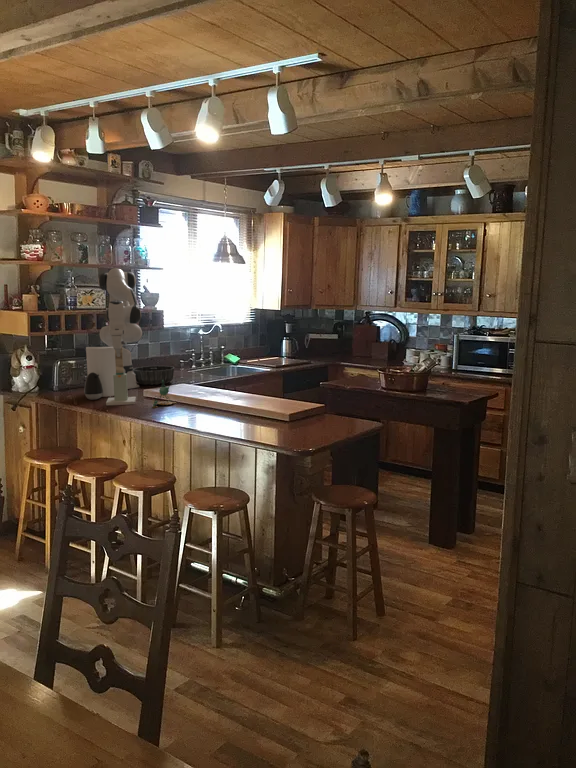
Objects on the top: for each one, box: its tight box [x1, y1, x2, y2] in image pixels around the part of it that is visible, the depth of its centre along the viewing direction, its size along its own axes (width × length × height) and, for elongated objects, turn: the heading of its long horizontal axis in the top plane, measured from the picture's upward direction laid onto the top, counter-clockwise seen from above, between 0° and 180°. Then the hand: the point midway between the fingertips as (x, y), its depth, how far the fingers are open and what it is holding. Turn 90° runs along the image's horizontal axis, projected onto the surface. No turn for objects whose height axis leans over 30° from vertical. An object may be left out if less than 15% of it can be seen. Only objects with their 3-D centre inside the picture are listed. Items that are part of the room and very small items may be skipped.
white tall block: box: [85, 346, 116, 398], centre depth 400 cm, size 17×17×28 cm
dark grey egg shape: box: [83, 372, 103, 401], centre depth 386 cm, size 10×10×15 cm
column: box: [115, 341, 125, 375], centre depth 372 cm, size 6×6×26 cm
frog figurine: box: [151, 380, 177, 409], centre depth 366 cm, size 10×18×15 cm, turn 137°
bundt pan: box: [132, 365, 175, 386], centre depth 438 cm, size 26×26×10 cm
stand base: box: [105, 373, 137, 406], centre depth 375 cm, size 15×15×16 cm
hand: (119, 356), depth 372 cm, fingers closed on column, 4 cm apart
